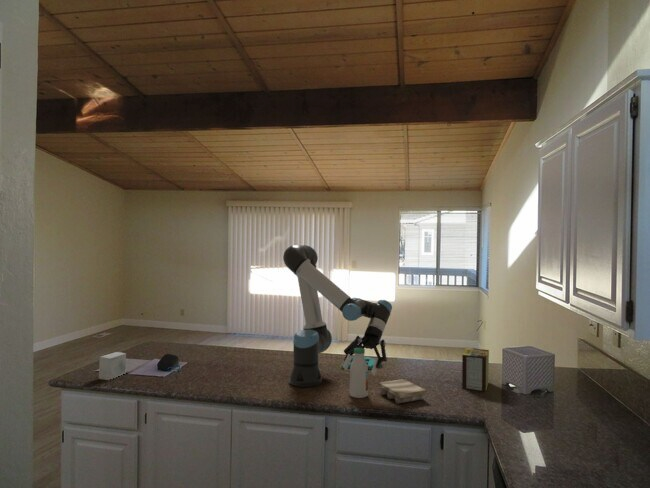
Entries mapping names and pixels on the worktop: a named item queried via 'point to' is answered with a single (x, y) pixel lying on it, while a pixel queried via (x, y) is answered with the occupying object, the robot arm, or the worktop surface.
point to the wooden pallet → (402, 391)
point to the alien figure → (368, 360)
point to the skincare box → (112, 365)
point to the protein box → (475, 369)
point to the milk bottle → (359, 375)
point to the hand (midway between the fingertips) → (358, 371)
